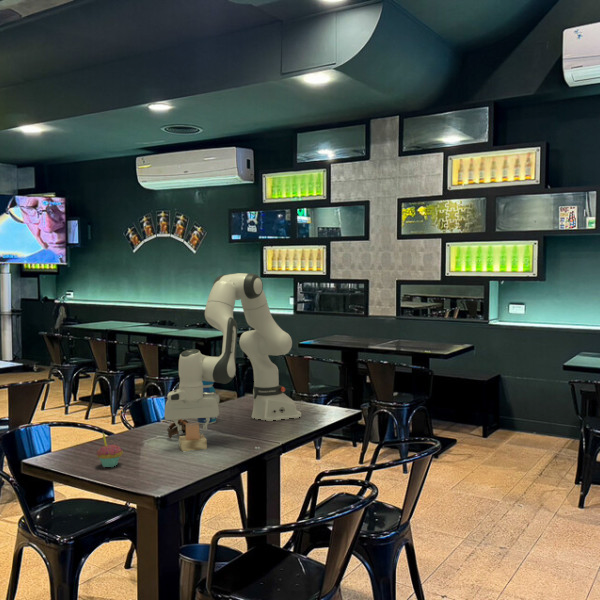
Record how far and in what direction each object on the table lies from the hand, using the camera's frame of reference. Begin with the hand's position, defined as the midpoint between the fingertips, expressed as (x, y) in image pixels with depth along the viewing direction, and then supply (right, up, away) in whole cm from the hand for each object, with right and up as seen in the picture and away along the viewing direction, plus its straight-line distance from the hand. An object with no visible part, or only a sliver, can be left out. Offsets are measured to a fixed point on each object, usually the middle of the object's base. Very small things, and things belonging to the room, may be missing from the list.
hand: (192, 429), depth 236 cm
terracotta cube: (0, -3, 0) cm, 3 cm away
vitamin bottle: (0, -5, +39) cm, 39 cm away
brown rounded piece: (-7, -6, +15) cm, 18 cm away
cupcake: (-25, -8, -20) cm, 33 cm away
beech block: (0, -7, 0) cm, 7 cm away
